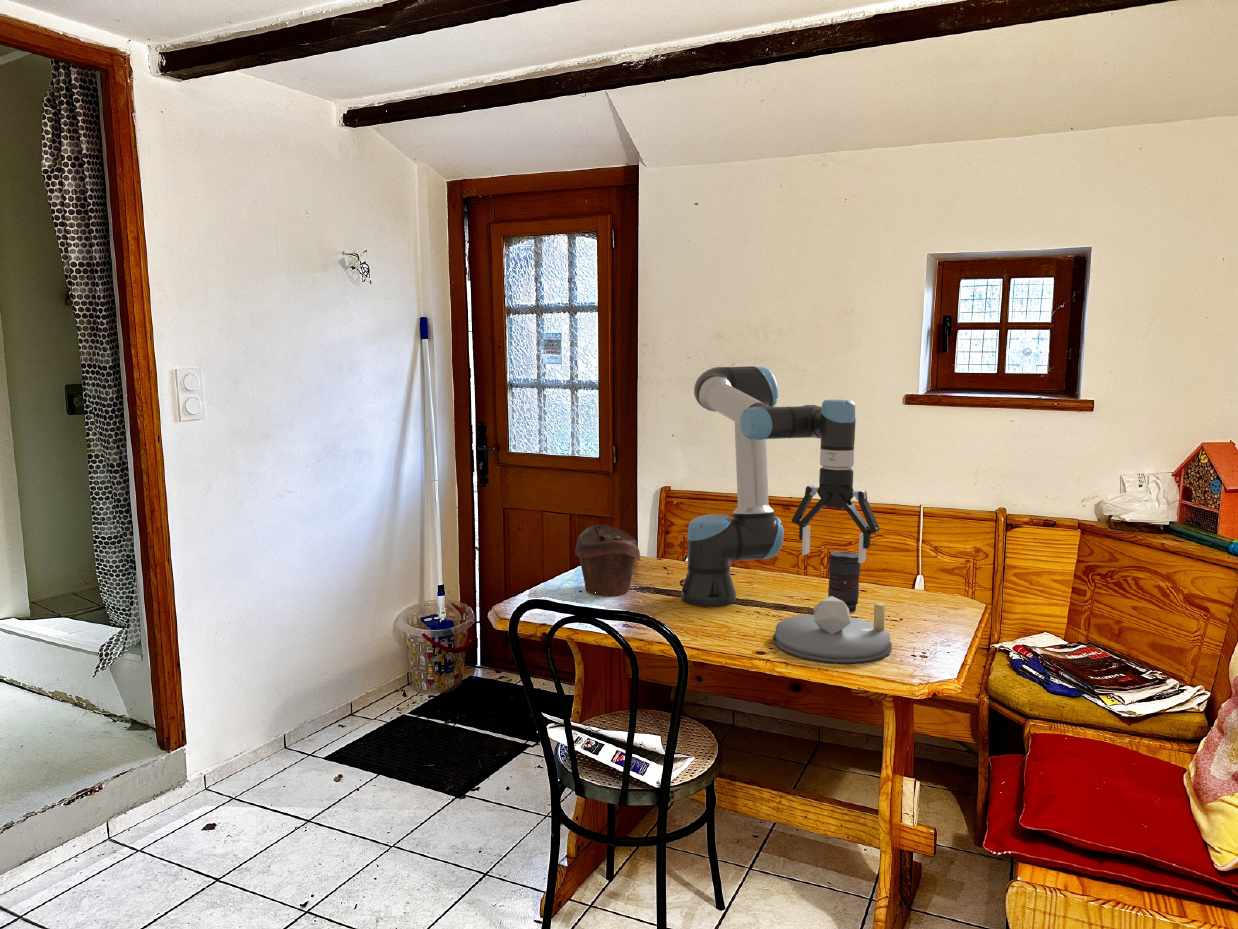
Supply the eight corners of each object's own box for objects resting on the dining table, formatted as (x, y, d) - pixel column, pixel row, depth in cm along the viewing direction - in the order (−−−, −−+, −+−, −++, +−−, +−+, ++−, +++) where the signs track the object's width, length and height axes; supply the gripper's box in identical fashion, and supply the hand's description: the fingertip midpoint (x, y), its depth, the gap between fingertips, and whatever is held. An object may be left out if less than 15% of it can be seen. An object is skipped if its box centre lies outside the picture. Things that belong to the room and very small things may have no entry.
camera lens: (860, 614, 224) (861, 558, 222) (828, 612, 226) (829, 556, 224) (857, 605, 232) (859, 551, 230) (827, 603, 233) (828, 550, 232)
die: (824, 625, 207) (804, 597, 204) (857, 612, 203) (837, 582, 200) (826, 647, 199) (805, 618, 196) (860, 634, 196) (839, 604, 193)
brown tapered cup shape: (621, 604, 234) (621, 539, 231) (562, 593, 244) (561, 532, 242) (653, 589, 249) (653, 528, 246) (596, 579, 259) (595, 521, 257)
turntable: (795, 661, 186) (796, 625, 185) (762, 624, 212) (762, 593, 211) (909, 656, 189) (910, 621, 188) (862, 620, 215) (863, 589, 214)
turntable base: (753, 648, 197) (753, 644, 197) (800, 619, 219) (800, 615, 219) (868, 673, 182) (868, 668, 182) (906, 639, 204) (906, 635, 204)
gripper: (779, 464, 199) (777, 553, 202) (885, 473, 185) (881, 569, 188) (792, 461, 206) (790, 547, 208) (896, 470, 191) (892, 562, 194)
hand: (833, 558), depth 198 cm, fingers open, 13 cm apart
